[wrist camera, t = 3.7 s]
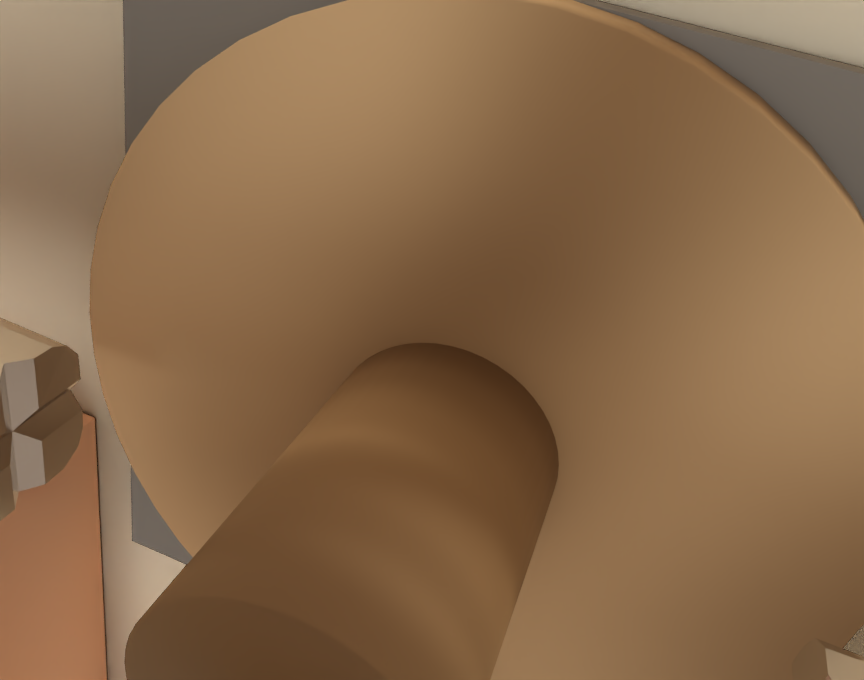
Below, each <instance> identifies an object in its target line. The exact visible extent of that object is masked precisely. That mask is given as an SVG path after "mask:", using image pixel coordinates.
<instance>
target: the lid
mask: <svg viewBox="0 0 864 680" xmlns="http://www.w3.org/2000/svg"><path fill="white" fill-rule="evenodd" d="M90 320H91V329H92V339H93V348H94V356H95V360H96V365H97V369H98V373H99V378H100V382H101V387H102V391H103V395H104V398H105V401H106V404H107V407H108V410H109V413H110V416H111V418H112V421H113V424H114V427H115V430H116V433H117V435H118V438H119V440H120V442H121V444H122V446H123V448H124V451H125V453H126V455H127V457H128V459H129V461H130V464H131V466H132V468H133V470H134V472H135V474H136V476H137V477H138V479H139V481H140V482H141V484H142V486H143V488H144V489H145V491H146V493H147V494H148V496H149V498H150V500H151V501H152V503H153V505H154V506H155V508H156V509H157V511H158V512H159V514H160V515H161V516H162V518H163V519H164V521H165V522H166V523H167V525H168V526H169V528H170V529H171V531H172V532H173V533H174V535H175V536H176V538H177V539H178V540H179V542H180V543H181V544H182V545H183V546H184V548H185V549H186V550H187V551H188V552H189V554H190V555H191V556H192V557H193V558H192V559H191V560H190V562H189V563H188V564H187V565H186V566H185V567H184V569H183V570H182V571H181V572H180V573H179V574H178V576H177V577H176V578H175V579H174V580H173V581H172V583H171V584H170V585H169V586H168V587H167V588H166V589H165V591H164V592H163V593H162V594H161V595H160V596H159V598H158V599H157V600H156V601H155V602H154V603H153V605H152V606H151V607H150V608H149V609H148V610H147V612H146V613H145V614H144V615H143V616H142V617H141V619H140V620H139V621H138V622H137V623H136V624H135V626H134V628H133V630H132V632H131V633H130V635H129V638H128V642H127V645H126V650H125V670H126V677H127V680H793V673H792V662H793V660H794V659H795V658H796V656H797V655H798V653H799V652H800V650H801V649H802V648H803V646H804V645H805V644H807V643H808V642H810V641H811V640H813V639H814V638H816V639H819V640H822V641H824V642H827V643H830V644H832V645H835V646H837V647H840V648H843V647H844V646H845V645H846V644H847V643H848V642H849V640H850V639H851V638H852V637H853V636H854V635H855V633H856V632H857V631H858V630H859V629H860V628H861V627H862V625H863V624H864V219H863V217H862V215H861V213H860V212H859V210H858V208H857V206H856V204H855V203H854V201H853V199H852V197H851V196H850V194H849V193H848V192H847V190H846V189H845V188H844V187H843V185H842V184H841V183H840V181H839V180H838V179H837V178H836V176H835V175H834V174H833V173H832V171H831V170H830V169H829V167H828V166H827V165H826V164H825V162H824V161H823V160H822V158H821V157H820V156H819V155H818V153H817V152H816V151H815V150H814V148H813V147H812V146H811V144H810V143H809V142H808V141H807V140H806V139H805V138H804V137H803V136H802V135H801V134H800V133H798V132H797V131H796V130H795V129H794V128H793V127H792V126H791V125H790V124H789V123H788V122H787V121H786V120H785V119H784V118H783V117H782V116H780V115H779V114H778V113H777V112H776V111H775V110H774V109H773V108H772V107H771V106H770V105H769V104H768V103H767V102H766V101H765V100H764V99H762V98H761V97H760V96H759V95H758V94H757V93H755V92H754V91H753V90H751V89H750V88H748V87H747V86H745V85H744V84H743V83H741V82H740V81H738V80H737V79H736V78H734V77H733V76H731V75H730V74H728V73H727V72H726V71H724V70H723V69H721V68H720V67H718V66H717V65H716V64H714V63H713V62H711V61H710V60H708V59H707V58H706V57H704V56H703V55H701V54H700V53H698V52H696V51H694V50H692V49H690V48H688V47H686V46H684V45H682V44H680V43H678V42H676V41H674V40H672V39H670V38H668V37H666V36H664V35H662V34H660V33H658V32H656V31H654V30H652V29H650V28H648V27H646V26H644V25H642V24H640V23H638V22H636V21H633V20H630V19H627V18H624V17H621V16H618V15H615V14H612V13H609V12H606V11H603V10H600V9H597V8H594V7H591V6H589V5H586V4H583V3H580V2H577V1H574V0H347V1H343V2H339V3H336V4H332V5H329V6H325V7H322V8H318V9H314V10H311V11H307V12H304V13H300V14H297V15H293V16H290V17H288V18H286V19H283V20H281V21H279V22H277V23H275V24H273V25H271V26H268V27H266V28H264V29H262V30H260V31H258V32H256V33H253V34H251V35H249V36H247V37H245V38H243V39H241V40H239V41H237V42H236V43H234V44H233V45H231V46H230V47H229V48H227V49H226V50H224V51H223V52H221V53H220V54H218V55H217V56H216V57H214V58H213V59H211V60H210V61H208V62H207V63H205V64H204V65H202V66H201V67H200V68H198V69H197V70H195V71H194V72H193V73H192V74H191V75H190V76H189V77H188V78H187V79H186V80H185V81H184V82H183V83H182V84H181V85H180V86H179V87H178V88H177V89H176V90H175V91H174V92H173V93H172V94H171V95H170V96H169V97H168V98H167V99H166V100H165V101H164V102H163V103H161V104H160V105H159V107H158V108H157V110H156V111H155V112H154V114H153V115H152V116H151V118H150V119H149V121H148V122H147V123H146V125H145V126H144V127H143V129H142V130H141V132H140V133H139V134H138V136H137V137H136V138H135V140H134V141H133V143H132V144H131V146H130V148H129V150H128V152H127V154H126V156H125V158H124V160H123V162H122V164H121V166H120V168H119V170H118V172H117V174H116V176H115V178H114V180H113V182H112V184H111V186H110V190H109V193H108V196H107V199H106V202H105V205H104V208H103V212H102V215H101V218H100V221H99V224H98V228H97V234H96V240H95V246H94V252H93V258H92V265H91V278H90Z"/></svg>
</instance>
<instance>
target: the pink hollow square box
mask: <svg viewBox="0 0 864 680" xmlns="http://www.w3.org/2000/svg"><path fill="white" fill-rule="evenodd" d="M0 680H107V670H106V649H105V627H104V606H103V584H102V563H101V541H100V520H99V499H98V477H97V456H96V434H95V418H94V417H92V416H89V415H87V414H84V413H83V429H82V433H81V437H80V441H79V445H78V447H77V449H76V451H75V452H74V454H73V455H72V457H71V458H70V460H69V462H68V463H67V465H66V466H65V468H64V469H63V470H62V471H60V472H59V473H58V474H57V475H56V476H55V477H53V478H52V479H51V480H50V481H49V482H48V483H46V484H45V485H41V486H38V487H34V488H30V489H27V490H23V491H19V493H18V498H17V502H16V507H15V510H13V511H12V512H11V513H10V514H8V515H7V516H6V517H5V518H4V519H2V520H1V521H0Z"/></svg>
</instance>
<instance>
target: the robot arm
mask: <svg viewBox="0 0 864 680" xmlns="http://www.w3.org/2000/svg"><path fill="white" fill-rule="evenodd" d="M80 379H81V378H80V369H79V359H78V354H77V353H75V352H74V351H73V350H72V349H70V348H69V347H68V346H66V345H64V344H61V343H59V342H57V341H54V340H52V339H50V338H47V337H45V336H42V335H40V334H38V333H35V332H33V331H31V330H28V329H26V328H24V327H21V326H19V325H16V324H14V323H12V322H9V321H7V320H5V319H2V318H0V521H1V520H2V519H4V518H5V517H6V516H7V515H8V514H10V513H11V512H12V511H13V510H15V507H16V502H17V498H18V493H19V491H23V490H27V489H30V488H34V487H38V486H41V485H45V484H46V483H48V482H49V481H50V480H51V479H52V478H53V477H55V476H56V475H57V474H58V473H59V472H60V471H62V470H63V469H64V468H65V466H66V465H67V463H68V462H69V460H70V458H71V457H72V455H73V454H74V452H75V451H76V449H77V447H78V445H79V441H80V437H81V433H82V429H83V413H82V409H81V407H80V405H79V404H78V402H77V400H76V399H75V397H74V395H73V394H72V392H71V390H70V389H71V388H72V387H73V386H74V385H75V384H76V383H77V382H78V381H79V380H80ZM792 673H793V680H864V656H861V655H858V654H856V653H853V652H850V651H848V650H845V649H843V648H840V647H837V646H835V645H832V644H830V643H827V642H824V641H822V640H819V639H816V638H814V639H813V640H811V641H810V642H808V643H807V644H805V645H804V646H803V648H802V649H801V650H800V652H799V653H798V655H797V656H796V658H795V659H794V660H793V662H792Z"/></svg>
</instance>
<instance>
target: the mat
mask: <svg viewBox="0 0 864 680" xmlns="http://www.w3.org/2000/svg"><path fill="white" fill-rule="evenodd" d="M343 1H347V0H123V29H124V88H125V147H126V154H127V152H128V150H129V148H130V146H131V144H132V143H133V141H134V140H135V138H136V137H137V136H138V134H139V133H140V132H141V130H142V129H143V127H144V126H145V125H146V123H147V122H148V121H149V119H150V118H151V116H152V115H153V114H154V112H155V111H156V110H157V108H158V107H159V105H160V104H161V103H163V102H164V101H165V100H166V99H167V98H168V97H169V96H170V95H171V94H172V93H173V92H174V91H175V90H176V89H177V88H178V87H179V86H180V85H181V84H182V83H183V82H184V81H185V80H186V79H187V78H188V77H189V76H190V75H191V74H192V73H193V72H194V71H195V70H197V69H198V68H200V67H201V66H202V65H204V64H205V63H207V62H208V61H210V60H211V59H213V58H214V57H216V56H217V55H218V54H220V53H221V52H223V51H224V50H226V49H227V48H229V47H230V46H231V45H233V44H234V43H236V42H237V41H239V40H241V39H243V38H245V37H247V36H249V35H251V34H253V33H256V32H258V31H260V30H262V29H264V28H266V27H268V26H271V25H273V24H275V23H277V22H279V21H281V20H283V19H286V18H288V17H290V16H293V15H297V14H300V13H304V12H307V11H311V10H314V9H318V8H322V7H325V6H329V5H332V4H336V3H339V2H343ZM574 1H577V2H580V3H583V4H586V5H589V6H591V7H594V8H597V9H600V10H603V11H606V12H609V13H612V14H615V15H618V16H621V17H624V18H627V19H630V20H633V21H636V22H638V23H640V24H642V25H644V26H646V27H648V28H650V29H652V30H654V31H656V32H658V33H660V34H662V35H664V36H666V37H668V38H670V39H672V40H674V41H676V42H678V43H680V44H682V45H684V46H686V47H688V48H690V49H692V50H694V51H696V52H698V53H700V54H701V55H703V56H704V57H706V58H707V59H708V60H710V61H711V62H713V63H714V64H716V65H717V66H718V67H720V68H721V69H723V70H724V71H726V72H727V73H728V74H730V75H731V76H733V77H734V78H736V79H737V80H738V81H740V82H741V83H743V84H744V85H745V86H747V87H748V88H750V89H751V90H753V91H754V92H755V93H757V94H758V95H759V96H760V97H761V98H762V99H764V100H765V101H766V102H767V103H768V104H769V105H770V106H771V107H772V108H773V109H774V110H775V111H776V112H777V113H778V114H779V115H780V116H782V117H783V118H784V119H785V120H786V121H787V122H788V123H789V124H790V125H791V126H792V127H793V128H794V129H795V130H796V131H797V132H798V133H800V134H801V135H802V136H803V137H804V138H805V139H806V140H807V141H808V142H809V143H810V144H811V146H812V147H813V148H814V150H815V151H816V152H817V153H818V155H819V156H820V157H821V158H822V160H823V161H824V162H825V164H826V165H827V166H828V167H829V169H830V170H831V171H832V173H833V174H834V175H835V176H836V178H837V179H838V180H839V181H840V183H841V184H842V185H843V187H844V188H845V189H846V190H847V192H848V193H849V194H850V196H851V197H852V199H853V201H854V203H855V204H856V206H857V208H858V210H859V212H860V213H861V215H862V217H863V219H864V68H861V67H857V66H853V65H849V64H845V63H841V62H837V61H834V60H830V59H826V58H822V57H818V56H814V55H810V54H806V53H802V52H798V51H794V50H790V49H786V48H782V47H778V46H774V45H770V44H767V43H763V42H759V41H755V40H751V39H747V38H743V37H739V36H735V35H731V34H727V33H723V32H719V31H715V30H711V29H707V28H703V27H699V26H696V25H692V24H688V23H684V22H680V21H676V20H672V19H668V18H664V17H660V16H656V15H652V14H648V13H644V12H640V11H636V10H632V9H628V8H625V7H621V6H617V5H613V4H609V3H605V2H601V1H597V0H574ZM131 502H132V541H134V542H136V543H139V544H141V545H143V546H146V547H148V548H150V549H152V550H155V551H157V552H159V553H161V554H164V555H166V556H168V557H171V558H173V559H175V560H177V561H180V562H182V563H184V564H188V563H189V562H190V560H191V559H192V558H193V557H192V556H191V555H190V554H189V552H188V551H187V550H186V549H185V548H184V546H183V545H182V544H181V543H180V542H179V540H178V539H177V538H176V536H175V535H174V533H173V532H172V531H171V529H170V528H169V526H168V525H167V523H166V522H165V521H164V519H163V518H162V516H161V515H160V514H159V512H158V511H157V509H156V508H155V506H154V505H153V503H152V501H151V500H150V498H149V496H148V494H147V493H146V491H145V489H144V488H143V486H142V484H141V482H140V481H139V479H138V477H137V476H136V474H135V472H134V470H133V468H132V466H131Z"/></svg>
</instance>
